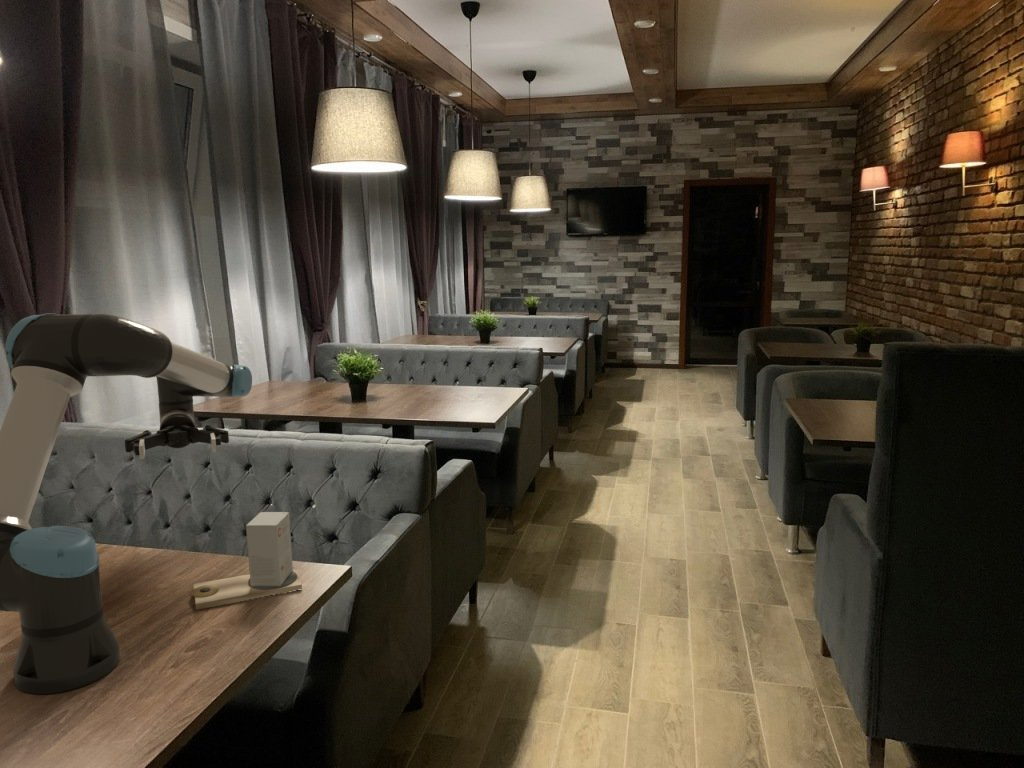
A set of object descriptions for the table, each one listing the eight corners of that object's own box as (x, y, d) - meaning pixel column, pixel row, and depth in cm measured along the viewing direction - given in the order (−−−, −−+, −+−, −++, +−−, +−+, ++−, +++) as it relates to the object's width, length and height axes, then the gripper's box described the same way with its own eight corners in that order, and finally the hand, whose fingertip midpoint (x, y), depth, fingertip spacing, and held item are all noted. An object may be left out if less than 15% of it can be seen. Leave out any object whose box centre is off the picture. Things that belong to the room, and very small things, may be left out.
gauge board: (302, 590, 155) (301, 582, 154) (193, 610, 146) (192, 602, 146) (294, 571, 164) (293, 564, 163) (191, 589, 155) (190, 582, 155)
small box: (264, 570, 161) (260, 511, 159) (293, 570, 161) (290, 511, 158) (249, 586, 153) (245, 525, 151) (280, 587, 153) (276, 525, 150)
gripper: (236, 439, 180) (244, 460, 160) (118, 450, 170) (111, 474, 151) (234, 408, 179) (241, 425, 159) (115, 417, 169) (107, 437, 149)
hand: (178, 449), depth 155 cm, fingers open, 13 cm apart
